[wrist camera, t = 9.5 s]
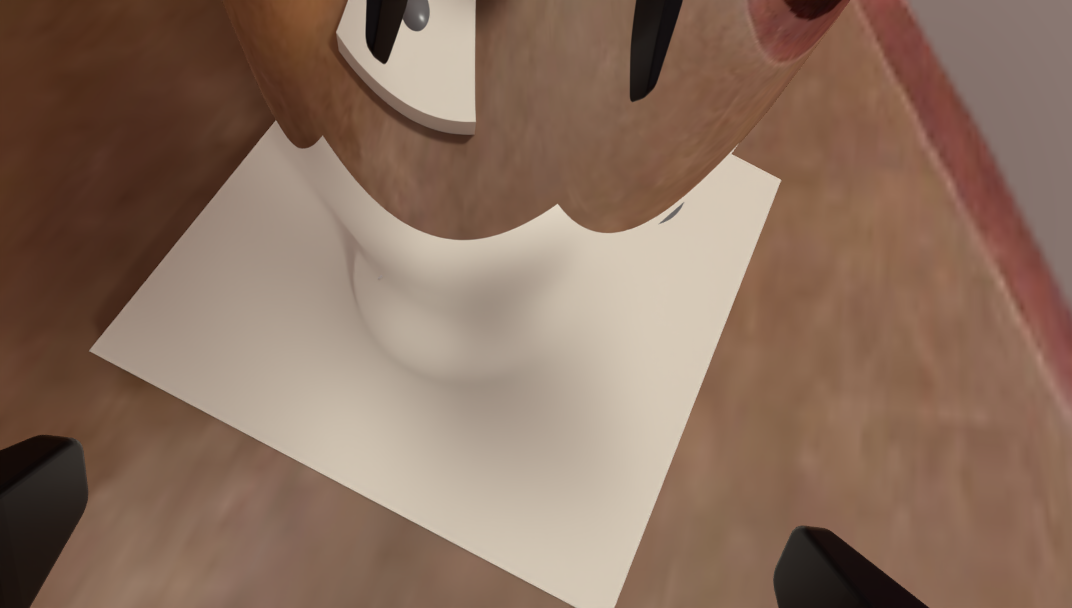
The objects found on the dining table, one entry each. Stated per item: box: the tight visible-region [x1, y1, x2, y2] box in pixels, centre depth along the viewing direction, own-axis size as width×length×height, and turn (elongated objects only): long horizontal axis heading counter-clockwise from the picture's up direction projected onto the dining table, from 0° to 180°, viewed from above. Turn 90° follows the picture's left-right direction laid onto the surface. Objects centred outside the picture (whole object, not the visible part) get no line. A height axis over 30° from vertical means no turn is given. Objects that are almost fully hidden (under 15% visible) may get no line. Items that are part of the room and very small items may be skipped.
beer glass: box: [221, 0, 850, 385], centre depth 11 cm, size 7×7×15 cm
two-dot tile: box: [89, 121, 781, 608], centre depth 18 cm, size 14×14×1 cm
